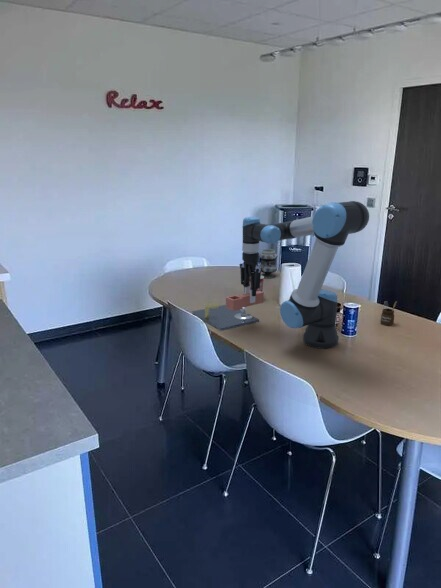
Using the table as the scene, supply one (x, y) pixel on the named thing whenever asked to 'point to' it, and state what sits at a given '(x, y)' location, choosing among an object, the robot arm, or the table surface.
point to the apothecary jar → (268, 262)
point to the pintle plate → (225, 318)
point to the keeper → (209, 306)
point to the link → (243, 301)
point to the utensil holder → (387, 316)
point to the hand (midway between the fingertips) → (249, 301)
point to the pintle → (243, 312)
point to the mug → (260, 284)
